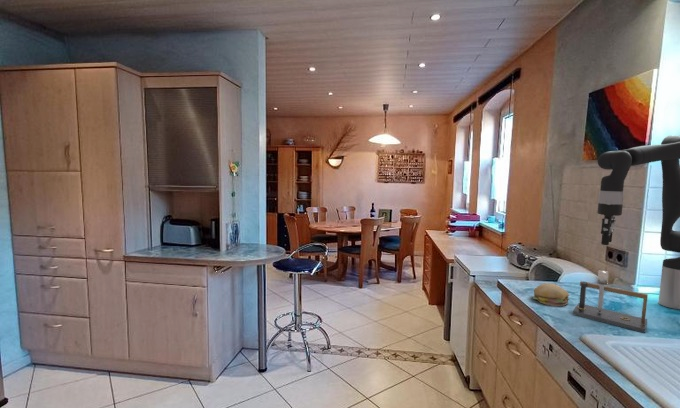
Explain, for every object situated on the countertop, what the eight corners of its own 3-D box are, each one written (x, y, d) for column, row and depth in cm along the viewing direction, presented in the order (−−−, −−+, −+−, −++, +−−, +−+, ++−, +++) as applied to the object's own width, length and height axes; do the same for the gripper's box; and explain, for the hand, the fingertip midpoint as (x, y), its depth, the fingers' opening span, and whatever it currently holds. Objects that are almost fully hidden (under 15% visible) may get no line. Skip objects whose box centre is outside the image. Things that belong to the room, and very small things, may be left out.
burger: (574, 308, 144) (576, 290, 143) (537, 305, 147) (539, 287, 146) (561, 297, 157) (562, 281, 156) (527, 295, 159) (529, 278, 159)
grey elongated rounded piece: (596, 308, 139) (599, 269, 138) (605, 310, 137) (609, 270, 136) (594, 311, 136) (597, 271, 134) (604, 314, 134) (607, 273, 132)
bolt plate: (578, 306, 146) (580, 279, 145) (646, 322, 131) (650, 292, 130) (572, 314, 138) (575, 285, 136) (644, 333, 122) (648, 300, 121)
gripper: (601, 201, 139) (597, 239, 141) (595, 202, 129) (591, 244, 131) (624, 202, 134) (620, 242, 136) (620, 204, 124) (616, 247, 126)
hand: (606, 243), depth 133 cm, fingers open, 8 cm apart
